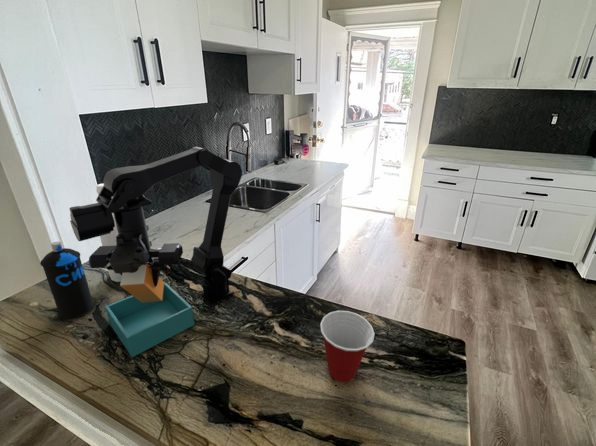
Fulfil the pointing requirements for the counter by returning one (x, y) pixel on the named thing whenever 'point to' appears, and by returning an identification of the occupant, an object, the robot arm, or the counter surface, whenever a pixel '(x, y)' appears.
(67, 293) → the aerosol can
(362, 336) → the plastic cup
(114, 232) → the bottle
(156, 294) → the drink carton
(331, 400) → the counter surface
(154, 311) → the bin
